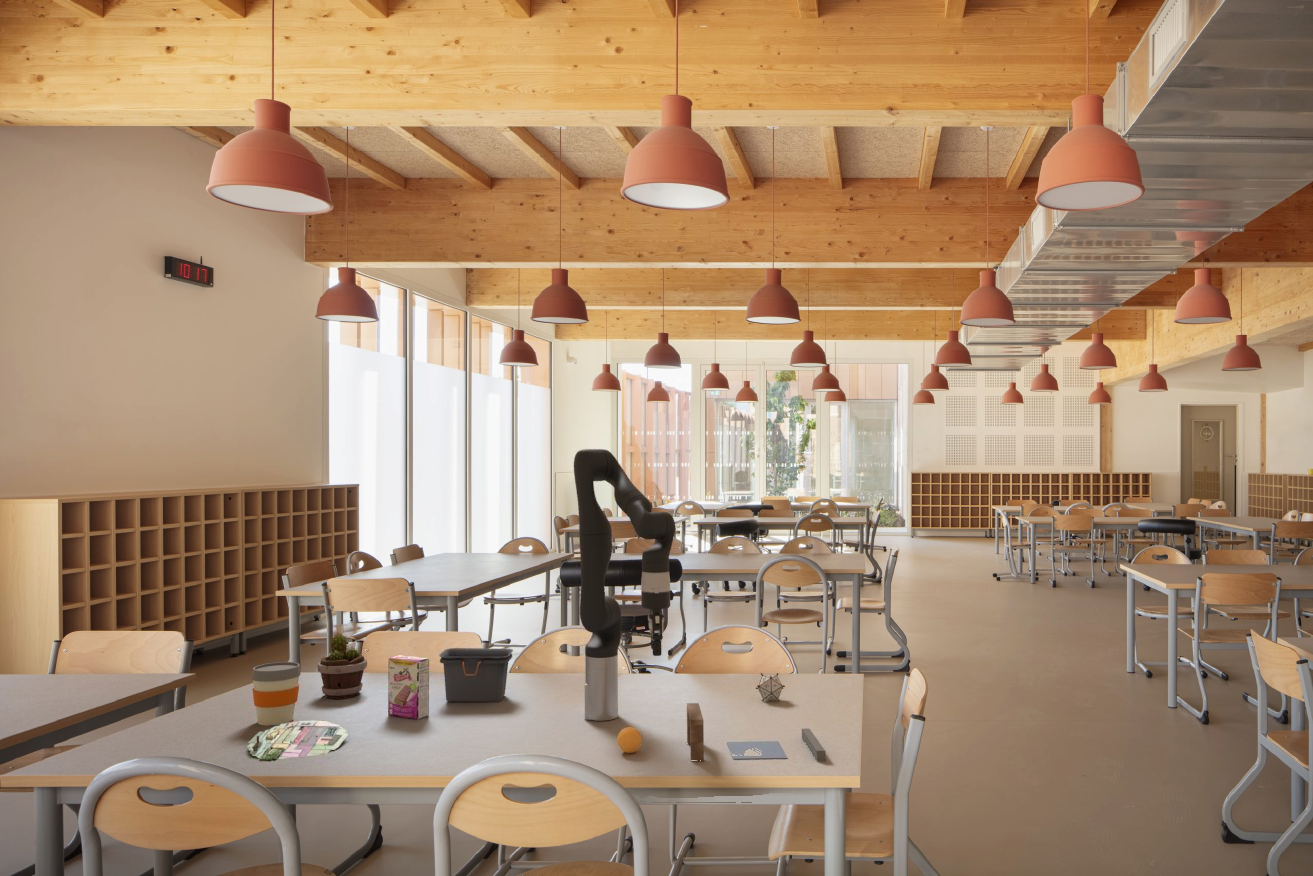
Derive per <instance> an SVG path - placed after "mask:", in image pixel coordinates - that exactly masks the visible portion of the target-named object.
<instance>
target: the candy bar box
mask: <svg viewBox="0 0 1313 876" xmlns="http://www.w3.org/2000/svg"><path fill="white" fill-rule="evenodd" d="M387 680H388V681H387V682H388V685H387V687H388V690H387V691H388V695H387V698H388V699H387V700H388V701H387V702H388V703H387V708H388V709H387V712H388V713H387V715H388V716H393V717H400V718H404V719H405V718H407V719H413V720H421V719H423V718H427V717H428V716H429V715H430V658H429V657H420V656H412V655H403V654H398V655H395V656H394V655H393V656H390V657H388V678H387Z"/></svg>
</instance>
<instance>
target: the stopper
mask: <svg viewBox="0 0 1313 876" xmlns="http://www.w3.org/2000/svg"><path fill="white" fill-rule="evenodd" d="M801 740H802V741H803V743H804V742H805V743H806V744H805V743H804V744H805V745H807V746H808V747H807V746H806V747H807V749H808V748H809V749H810V750H809V749H808V750H809V752H810V751H811V752H812V753H811V752H810V753H811V755H812V754H813V755H814V756H813V755H812V756H813V758H814V757H815V758H814V759H815V761H816V760H817V761H825V762H826V750H825V748H824V747H823V746H822V744H821V743H820V741H819V740H818V739H817V737H816V735H815V734H814V733H813V731H812V729H810V728H801ZM817 761H816V762H817Z"/></svg>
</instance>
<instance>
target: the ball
mask: <svg viewBox="0 0 1313 876" xmlns="http://www.w3.org/2000/svg"><path fill="white" fill-rule="evenodd" d="M616 740H617V741H616V742H617V746H618V748H619V749H620V750H621V751H622V752H624V753H626V754H633V753H636V752H637V751H638V750H639V749H640V748H641V745H642V741H643V737H642V734H641V732H640V731H639V730H638V729H637V728H636V727H633V726H626V727H625V728H622V729H621V730H620V731H619V733H618V736H617V739H616Z"/></svg>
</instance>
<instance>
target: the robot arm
mask: <svg viewBox="0 0 1313 876" xmlns="http://www.w3.org/2000/svg"><path fill="white" fill-rule="evenodd" d="M573 474H574V475H573V476H574V483H575V491H576V497H577V507H578V508H577V509H578V524H579V525H578V536H579V552H580V553H579V554H580V581H581V582H580V600H579V618H580V622H581V625H582V627H583V628H584V629H585V630H586V631H588V632H589V633H592V634H591V637H590V639H589V640H588V642H587V643H586V644H585V648H584V657H585V658H584V663H585V664H584V666H585V667H584V683H585V684H584V720H589V721H599V722H600V721H604V722H605V721H611V720H614V719H617V718H618V717H619V658H618V657H619V647H620V644H621V636H622V634H621V633H622V610H621V609H622V608H621V607H620V604H619V602H618V601H617V600H616V599H615V598H613V597H612V596H610V595H609V596H608V595H607V596H605V595H606V594H605V579H606V575H607V571H608V568H609V565H610V562H611V558H612V553H613V534H612V531H613V530H612V526H611V523H610V521H609V519H608V517H607V516H606V514H605V512H604V511H603V509H602V507H601V506H600V504H599V503H598V500H597V497H596V493H595V492H596V491H595V486H594V482H604V481H605V482H607V483H608V484H609V485H611V486H612V487H613V496H614V500H615V503H616V504H617V506H618V508H620V510H622V512H623V513H624V514H625V515H626V516H627V517H628V518H629V520H630V523H631V525H632V526H633V529H634V531H635V534H636V535H637V536H639V537H640V538H641V539H644V540H646V541H647V540H649V541H650V540H654V543H653V545H652V546H650V547H649V548H646V549H644V550H643V551H642V554H641V555H642V556H641V558H642V559H641V568H642V569H641V571H642V572H641V579H640V581H641V583H640V585H641V586H640V588H641V589H640V590H641V591H640V593H641V594H640V595H641V596H640V597H641V598H640V599H641V608H643V609H645V610H649V613H648V614H647V621H648V629H649V633H650V648H651V650H652V655H653V656H654V657H660V656H662V641H663V638H664V636H663V633H664V622H665V616H664V613H662V610H663V609H664V610H665V609H669V608H670V607H671V578H670V553H671V550H672V547H673V546H672V545H673V541H674V538H675V534H676V521H675V518H674V517H673V515H672V514H671V513H670V512H668V511H653V506H652V502H651V501H650V500H649V499H648V498H647V497H646V496H645V494H643V493H642V491H641V490H639V489H638V488H637V487H636V486H635V485H634V484H633V483H632V481H631V479H630V478H629V476H628V475H627V474H626V472H625V470H624V469H623V468H622V466H621V464H620V463H619V461H618V460H617V458H616V456H615V455H613V453H612V452H611V451H609V450H608V449H604V448H584V449H579V450H578V451H576V453H575V455H574V459H573Z"/></svg>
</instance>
